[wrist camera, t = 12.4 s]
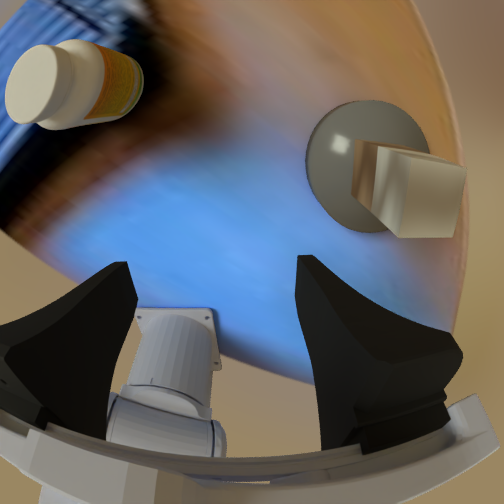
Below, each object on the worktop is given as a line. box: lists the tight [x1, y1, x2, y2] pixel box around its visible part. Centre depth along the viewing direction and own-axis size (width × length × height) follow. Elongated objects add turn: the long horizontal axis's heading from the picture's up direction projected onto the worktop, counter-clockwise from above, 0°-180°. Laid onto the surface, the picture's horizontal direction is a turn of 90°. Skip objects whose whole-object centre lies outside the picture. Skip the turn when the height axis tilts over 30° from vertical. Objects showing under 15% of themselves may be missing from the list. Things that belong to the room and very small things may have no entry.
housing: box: [351, 139, 467, 238], centre depth 14 cm, size 4×4×7 cm
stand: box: [305, 100, 430, 233], centre depth 18 cm, size 10×10×2 cm
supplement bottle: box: [5, 39, 144, 130], centre depth 11 cm, size 5×5×10 cm
